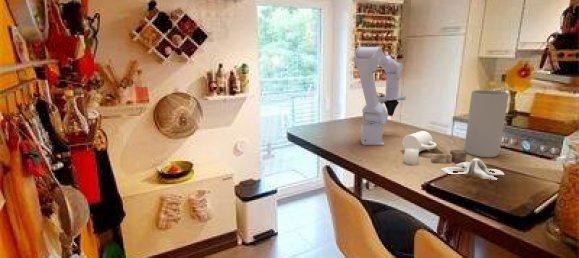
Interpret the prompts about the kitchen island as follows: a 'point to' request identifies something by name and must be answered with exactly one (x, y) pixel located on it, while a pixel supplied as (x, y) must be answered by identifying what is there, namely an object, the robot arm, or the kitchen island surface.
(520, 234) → the kitchen island surface
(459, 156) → the walnut block
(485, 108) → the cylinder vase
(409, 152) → the small white cylinder
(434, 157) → the dock
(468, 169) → the cloth
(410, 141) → the mug
